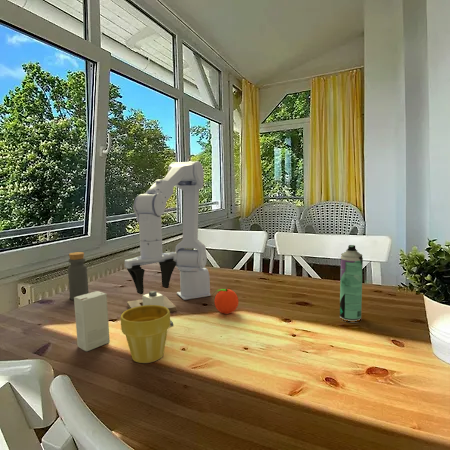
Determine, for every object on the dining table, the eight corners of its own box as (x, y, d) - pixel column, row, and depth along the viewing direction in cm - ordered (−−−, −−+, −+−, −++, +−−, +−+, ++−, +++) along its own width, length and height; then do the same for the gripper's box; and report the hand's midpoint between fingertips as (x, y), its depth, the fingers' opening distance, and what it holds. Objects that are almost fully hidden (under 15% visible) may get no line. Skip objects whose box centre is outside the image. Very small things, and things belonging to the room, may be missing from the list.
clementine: (207, 315, 100) (206, 290, 99) (216, 307, 107) (215, 284, 106) (234, 318, 97) (233, 293, 97) (241, 310, 104) (241, 286, 103)
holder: (165, 299, 115) (165, 295, 115) (176, 310, 104) (176, 306, 104) (127, 305, 110) (127, 301, 110) (135, 318, 99) (134, 313, 99)
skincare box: (100, 338, 86) (97, 289, 85) (110, 343, 83) (108, 293, 82) (76, 347, 81) (72, 296, 80) (86, 353, 79) (82, 300, 77)
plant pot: (112, 363, 74) (109, 318, 73) (140, 342, 83) (139, 302, 82) (155, 372, 70) (153, 324, 69) (180, 349, 80) (178, 307, 78)
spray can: (360, 316, 97) (362, 244, 95) (361, 323, 92) (363, 247, 90) (339, 314, 99) (341, 243, 97) (339, 321, 94) (340, 246, 92)
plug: (156, 316, 98) (155, 289, 97) (164, 320, 95) (163, 292, 94) (143, 320, 96) (142, 292, 95) (151, 324, 93) (149, 295, 92)
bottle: (82, 300, 115) (79, 255, 114) (66, 299, 117) (62, 254, 115) (92, 295, 121) (89, 251, 119) (76, 294, 122) (73, 251, 121)
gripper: (166, 235, 101) (168, 281, 102) (118, 241, 91) (120, 292, 93) (180, 237, 95) (182, 286, 97) (130, 244, 86) (133, 299, 87)
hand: (153, 290), depth 94 cm, fingers open, 7 cm apart
